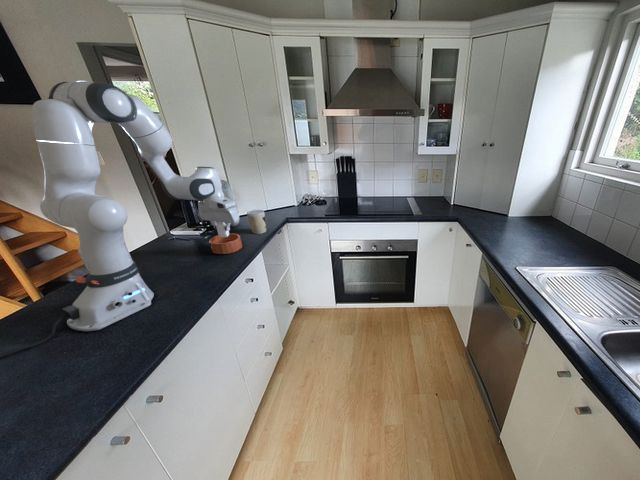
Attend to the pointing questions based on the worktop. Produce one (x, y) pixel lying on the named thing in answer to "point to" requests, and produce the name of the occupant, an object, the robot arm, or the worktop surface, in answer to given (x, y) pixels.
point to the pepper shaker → (222, 230)
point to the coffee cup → (257, 221)
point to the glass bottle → (228, 196)
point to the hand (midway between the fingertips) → (222, 229)
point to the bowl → (226, 244)
